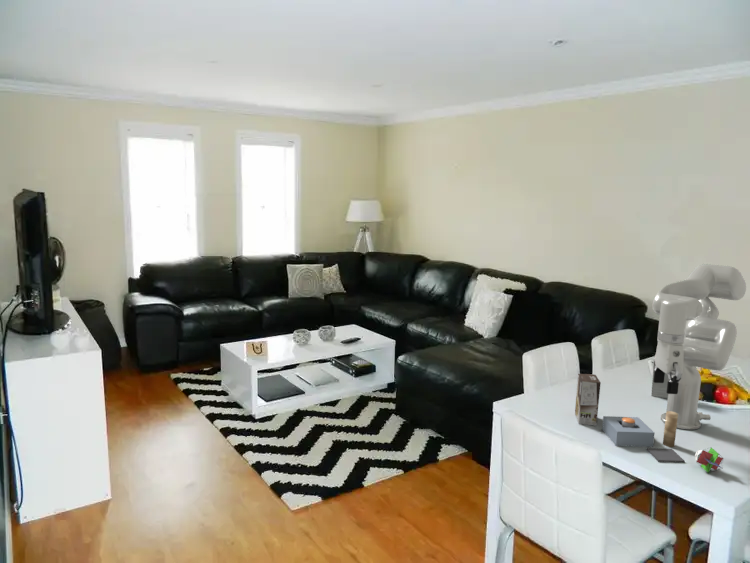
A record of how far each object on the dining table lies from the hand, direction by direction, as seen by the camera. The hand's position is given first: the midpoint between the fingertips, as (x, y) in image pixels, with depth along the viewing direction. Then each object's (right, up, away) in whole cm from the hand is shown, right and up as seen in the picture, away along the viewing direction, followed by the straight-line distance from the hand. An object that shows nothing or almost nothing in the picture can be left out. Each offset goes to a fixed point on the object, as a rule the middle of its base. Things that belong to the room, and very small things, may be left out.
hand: (665, 388), depth 178 cm
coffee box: (-18, -16, +20) cm, 31 cm away
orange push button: (-10, -15, +6) cm, 19 cm away
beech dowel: (+2, -19, +2) cm, 19 cm away
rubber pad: (-3, -20, -6) cm, 21 cm away
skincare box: (+23, -12, +45) cm, 51 cm away
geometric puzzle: (+6, -22, -14) cm, 27 cm away
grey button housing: (-10, -18, +6) cm, 22 cm away
